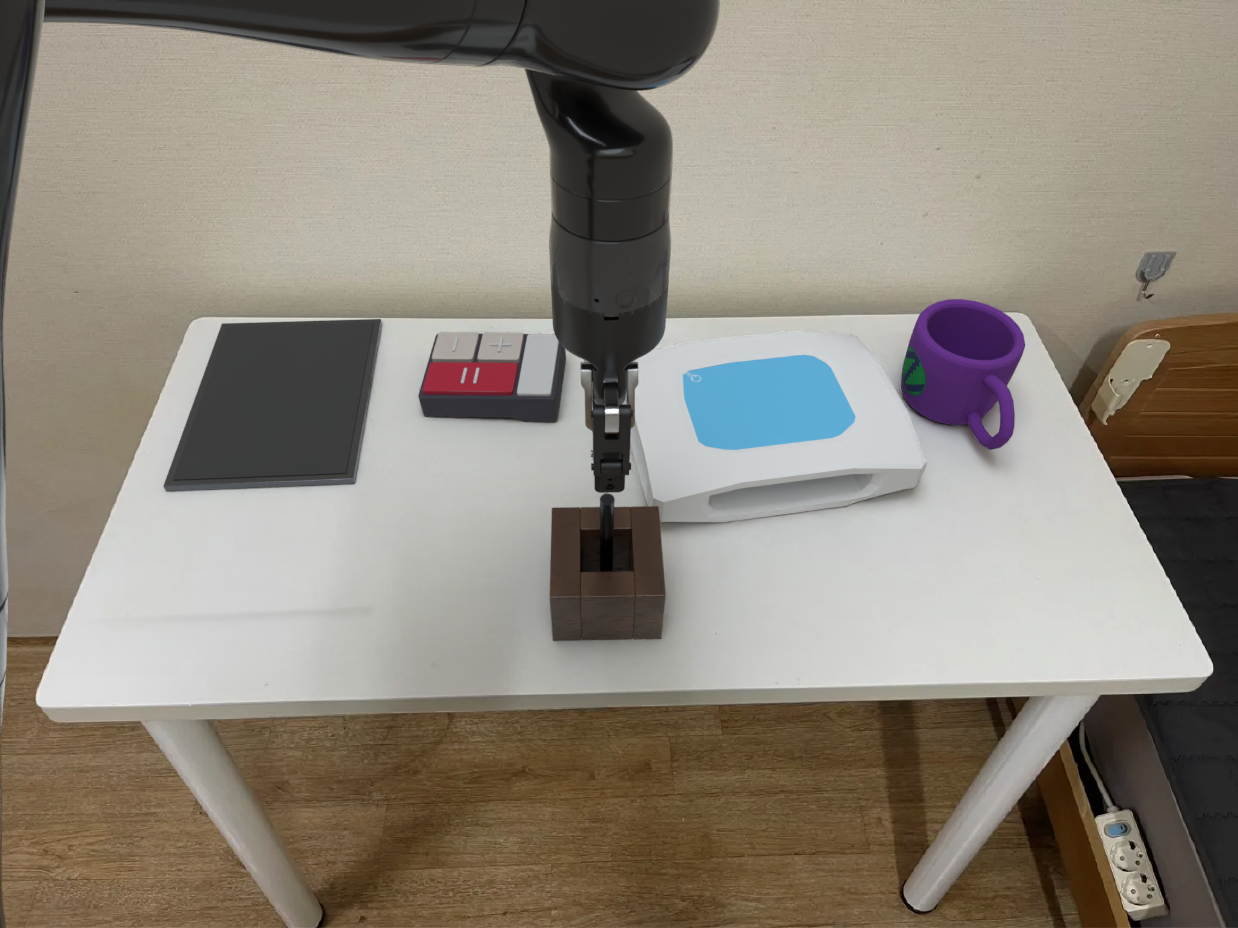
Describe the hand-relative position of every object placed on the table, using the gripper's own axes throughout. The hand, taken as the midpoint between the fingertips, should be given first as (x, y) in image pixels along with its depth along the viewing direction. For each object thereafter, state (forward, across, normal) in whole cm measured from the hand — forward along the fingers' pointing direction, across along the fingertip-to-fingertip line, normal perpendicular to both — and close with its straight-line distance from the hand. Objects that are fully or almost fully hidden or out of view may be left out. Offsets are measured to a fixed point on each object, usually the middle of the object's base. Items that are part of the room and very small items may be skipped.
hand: (607, 446), depth 68 cm
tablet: (+20, -27, -36) cm, 49 cm away
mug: (+21, -23, +40) cm, 50 cm away
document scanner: (+20, -20, +17) cm, 33 cm away
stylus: (+20, 0, 0) cm, 20 cm away
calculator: (+20, -29, -12) cm, 37 cm away
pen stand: (+20, 0, 0) cm, 20 cm away
